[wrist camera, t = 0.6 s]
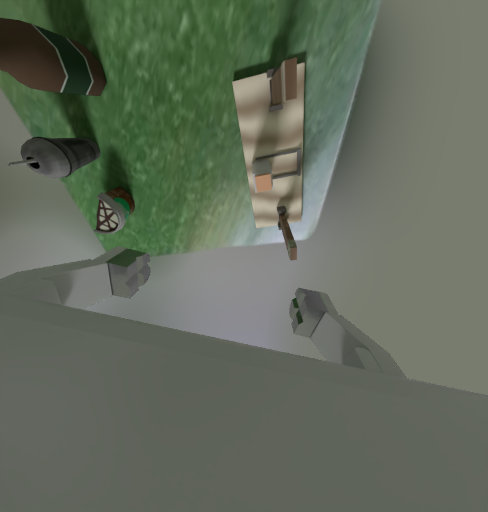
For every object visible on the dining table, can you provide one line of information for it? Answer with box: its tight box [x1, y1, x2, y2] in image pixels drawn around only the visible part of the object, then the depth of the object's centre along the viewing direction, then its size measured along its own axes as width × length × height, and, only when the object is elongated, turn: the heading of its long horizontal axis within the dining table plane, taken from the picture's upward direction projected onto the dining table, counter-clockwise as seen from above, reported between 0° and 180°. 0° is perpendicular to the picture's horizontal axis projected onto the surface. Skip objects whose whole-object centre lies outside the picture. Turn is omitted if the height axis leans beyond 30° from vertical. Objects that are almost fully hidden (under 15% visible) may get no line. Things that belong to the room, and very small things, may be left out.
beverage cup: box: [7, 137, 100, 178], centre depth 37 cm, size 7×7×20 cm
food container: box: [94, 187, 135, 234], centre depth 50 cm, size 12×6×10 cm, turn 148°
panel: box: [232, 62, 305, 230], centre depth 44 cm, size 34×14×5 cm, turn 11°
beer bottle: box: [0, 18, 106, 96], centre depth 26 cm, size 8×8×24 cm
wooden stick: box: [279, 213, 297, 260], centre depth 46 cm, size 2×4×18 cm, turn 11°
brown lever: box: [269, 57, 297, 104], centre depth 29 cm, size 2×4×18 cm, turn 11°
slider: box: [252, 160, 273, 193], centre depth 41 cm, size 4×4×11 cm
